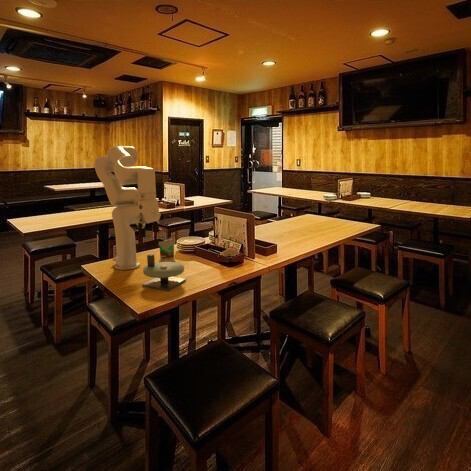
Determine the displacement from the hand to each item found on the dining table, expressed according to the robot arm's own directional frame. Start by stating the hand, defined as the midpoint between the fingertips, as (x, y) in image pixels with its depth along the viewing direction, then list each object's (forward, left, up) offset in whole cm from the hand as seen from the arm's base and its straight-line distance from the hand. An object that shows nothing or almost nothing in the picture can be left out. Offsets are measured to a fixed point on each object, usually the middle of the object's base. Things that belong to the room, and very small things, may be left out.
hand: (149, 234), depth 164 cm
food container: (-15, +37, -22) cm, 46 cm away
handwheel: (+7, 0, -16) cm, 18 cm away
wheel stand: (+7, 0, -22) cm, 23 cm away
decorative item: (+20, +42, -23) cm, 52 cm away
